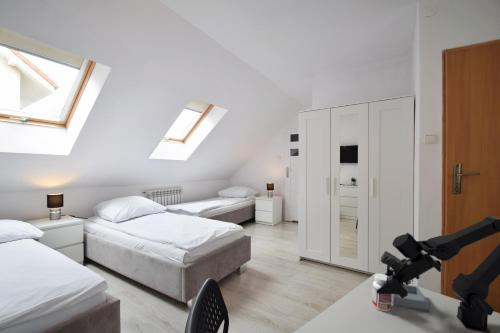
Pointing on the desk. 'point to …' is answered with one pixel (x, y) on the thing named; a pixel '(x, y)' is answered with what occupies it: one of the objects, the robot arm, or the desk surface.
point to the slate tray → (411, 300)
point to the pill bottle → (381, 300)
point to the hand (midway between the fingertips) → (377, 288)
